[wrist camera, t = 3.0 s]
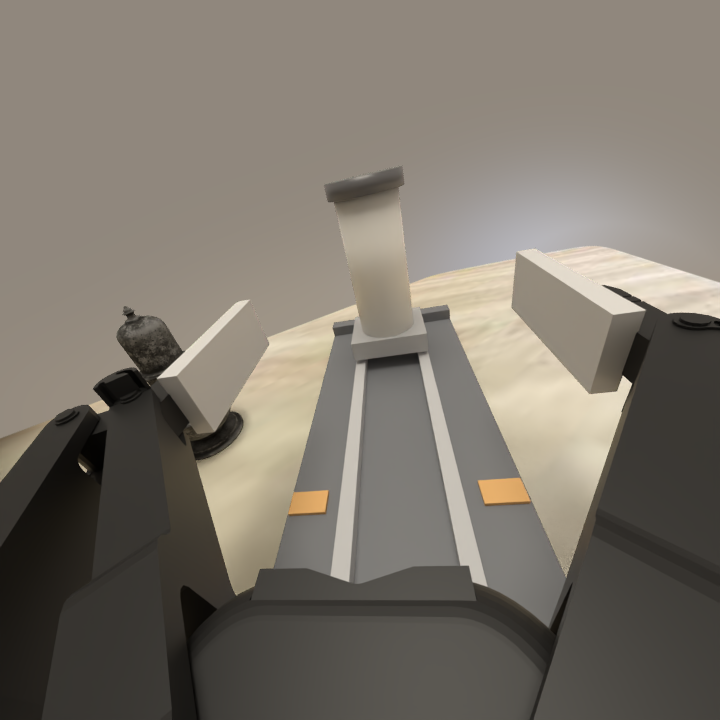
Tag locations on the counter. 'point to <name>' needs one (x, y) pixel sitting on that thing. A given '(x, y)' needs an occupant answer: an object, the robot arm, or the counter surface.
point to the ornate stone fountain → (153, 356)
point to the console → (415, 476)
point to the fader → (377, 264)
